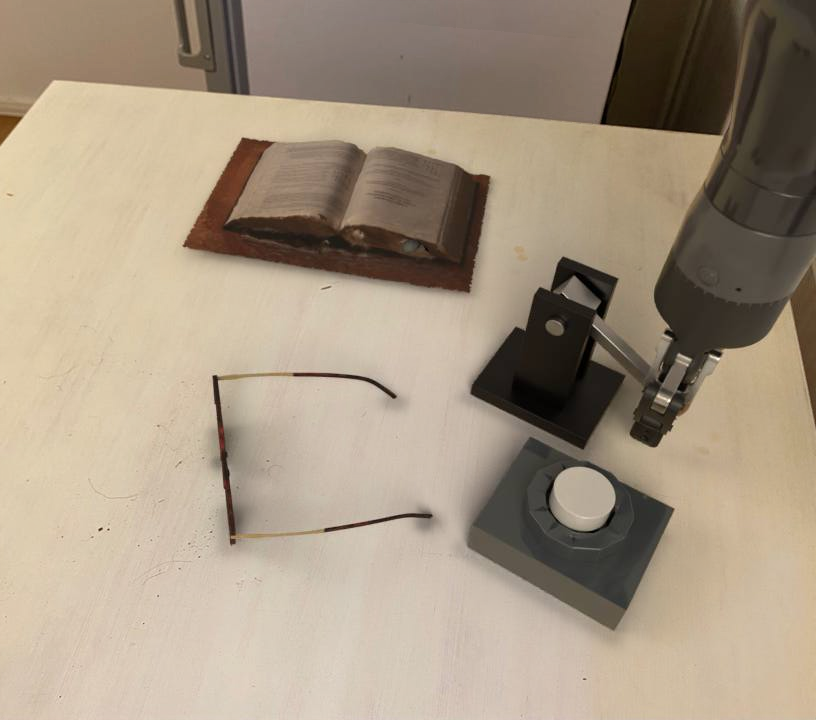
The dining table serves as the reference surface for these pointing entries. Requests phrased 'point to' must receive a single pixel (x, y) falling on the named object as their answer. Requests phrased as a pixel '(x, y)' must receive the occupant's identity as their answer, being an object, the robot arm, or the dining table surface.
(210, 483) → the dining table surface
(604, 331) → the flush lever
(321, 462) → the dining table surface
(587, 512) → the white push button
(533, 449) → the button housing
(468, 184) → the book
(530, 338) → the lever bracket
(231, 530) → the sunglasses
